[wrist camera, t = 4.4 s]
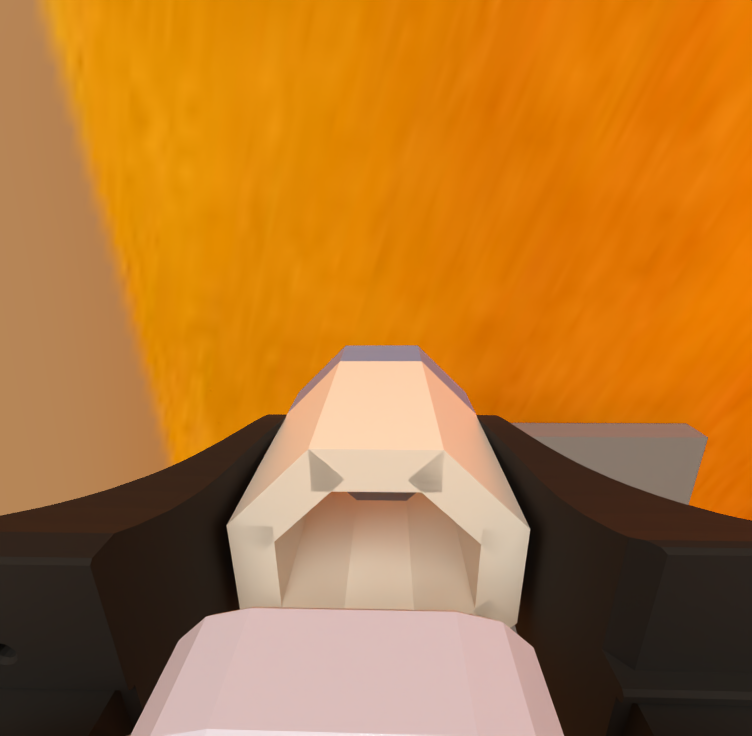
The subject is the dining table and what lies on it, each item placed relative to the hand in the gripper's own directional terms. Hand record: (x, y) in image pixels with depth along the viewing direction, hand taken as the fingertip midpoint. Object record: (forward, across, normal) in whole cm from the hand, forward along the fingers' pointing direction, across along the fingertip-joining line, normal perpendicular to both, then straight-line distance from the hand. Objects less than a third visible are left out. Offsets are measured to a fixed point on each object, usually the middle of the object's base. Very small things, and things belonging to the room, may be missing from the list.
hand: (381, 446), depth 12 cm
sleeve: (+1, 0, 0) cm, 1 cm away
